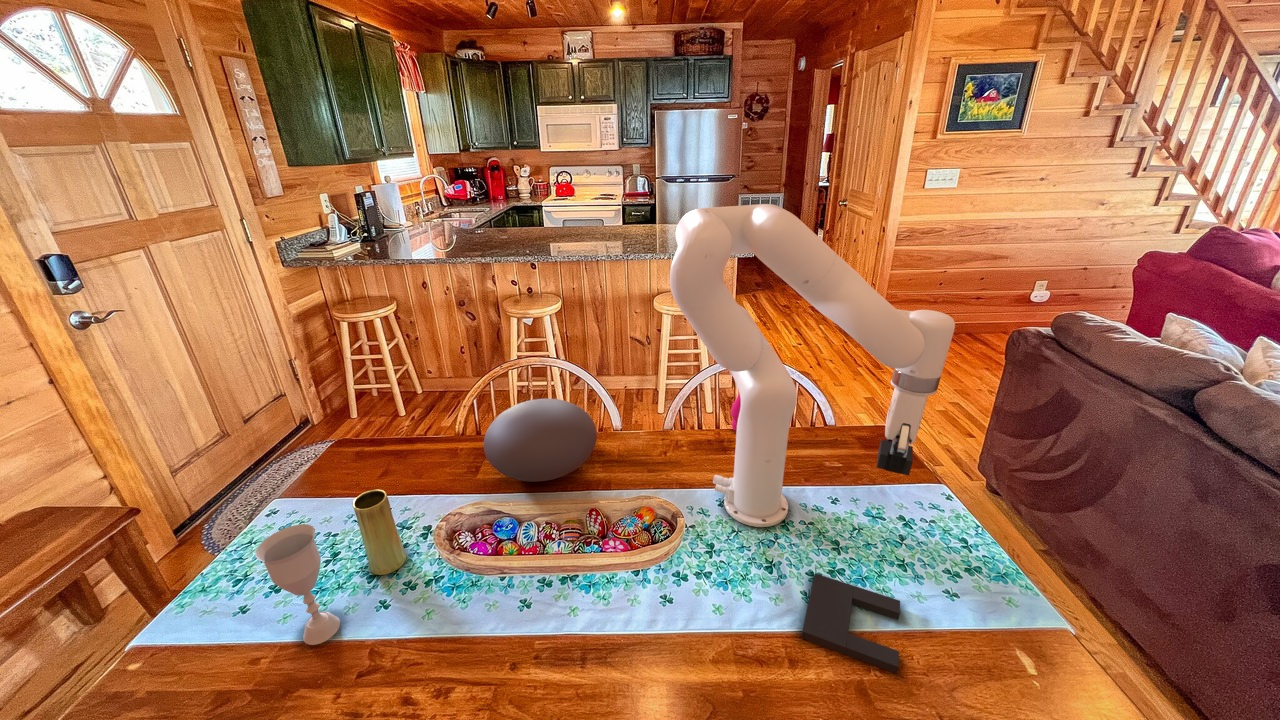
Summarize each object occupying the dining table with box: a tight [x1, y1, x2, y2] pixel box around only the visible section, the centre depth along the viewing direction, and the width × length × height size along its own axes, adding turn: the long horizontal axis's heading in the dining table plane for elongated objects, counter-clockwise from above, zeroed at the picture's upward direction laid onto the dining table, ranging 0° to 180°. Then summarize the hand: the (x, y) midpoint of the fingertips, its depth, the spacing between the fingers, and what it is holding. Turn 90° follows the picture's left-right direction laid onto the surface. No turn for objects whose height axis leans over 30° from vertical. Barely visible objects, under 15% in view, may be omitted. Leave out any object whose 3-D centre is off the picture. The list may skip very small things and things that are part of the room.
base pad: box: [800, 572, 901, 675], centre depth 78 cm, size 13×12×2 cm
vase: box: [352, 489, 408, 576], centre depth 88 cm, size 6×6×14 cm
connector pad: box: [876, 439, 914, 477], centre depth 98 cm, size 6×6×3 cm
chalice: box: [254, 523, 341, 646], centre depth 75 cm, size 7×7×18 cm
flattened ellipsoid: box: [483, 398, 598, 483], centre depth 114 cm, size 25×25×15 cm
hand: (893, 461), depth 98 cm, fingers closed on connector pad, 5 cm apart
